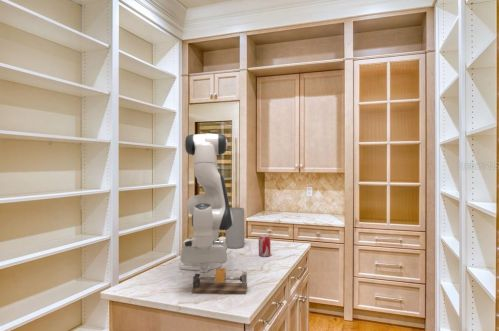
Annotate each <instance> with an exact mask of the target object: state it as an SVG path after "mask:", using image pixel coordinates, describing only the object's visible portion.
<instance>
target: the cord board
mask: <svg viewBox="0 0 499 331" xmlns="http://www.w3.org/2000/svg"><path fill="white" fill-rule="evenodd" d="M247 274H248V273H247V271H242V272H241V275H240V276H226V277H225V281H239V282H225V283H215V282H209V281H211V280H213V281H215V276H201V273H195V274H194V275H193V277H192V281H193V282H192V289H191V293H192V294H200V295H201V294H205V295H206V294H208V295H211V294H213V295H216V294H217V295H246V294H247V289H248V281H247V279H248V278H247V277H248V276H247ZM201 280H202V281H203V280H205V281H207V282H205V281H203V282H201ZM208 280H209V281H208Z"/></svg>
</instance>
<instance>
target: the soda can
mask: <svg viewBox="0 0 499 331" xmlns="http://www.w3.org/2000/svg"><path fill="white" fill-rule="evenodd" d="M258 255H259V256H260V257H263V258H267V257H269V256H270V255H271V237H270V235H269V234H260V235H259V237H258Z"/></svg>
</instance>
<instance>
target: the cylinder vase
mask: <svg viewBox="0 0 499 331" xmlns="http://www.w3.org/2000/svg"><path fill="white" fill-rule="evenodd" d="M230 210H231V212H232V215H233V224H232V226H231V227H230V228H229V229H228V230H224V231H225V243H226V244H227V249H242V248H244V247H245V208H244V207H238V206H237V207H230Z"/></svg>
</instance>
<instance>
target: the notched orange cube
mask: <svg viewBox="0 0 499 331" xmlns="http://www.w3.org/2000/svg"><path fill="white" fill-rule="evenodd" d="M214 275H215V276H214V277H215V280H214V281H215V283H226V280H225V277H227V268H226V267H218V268H215V272H214Z"/></svg>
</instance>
